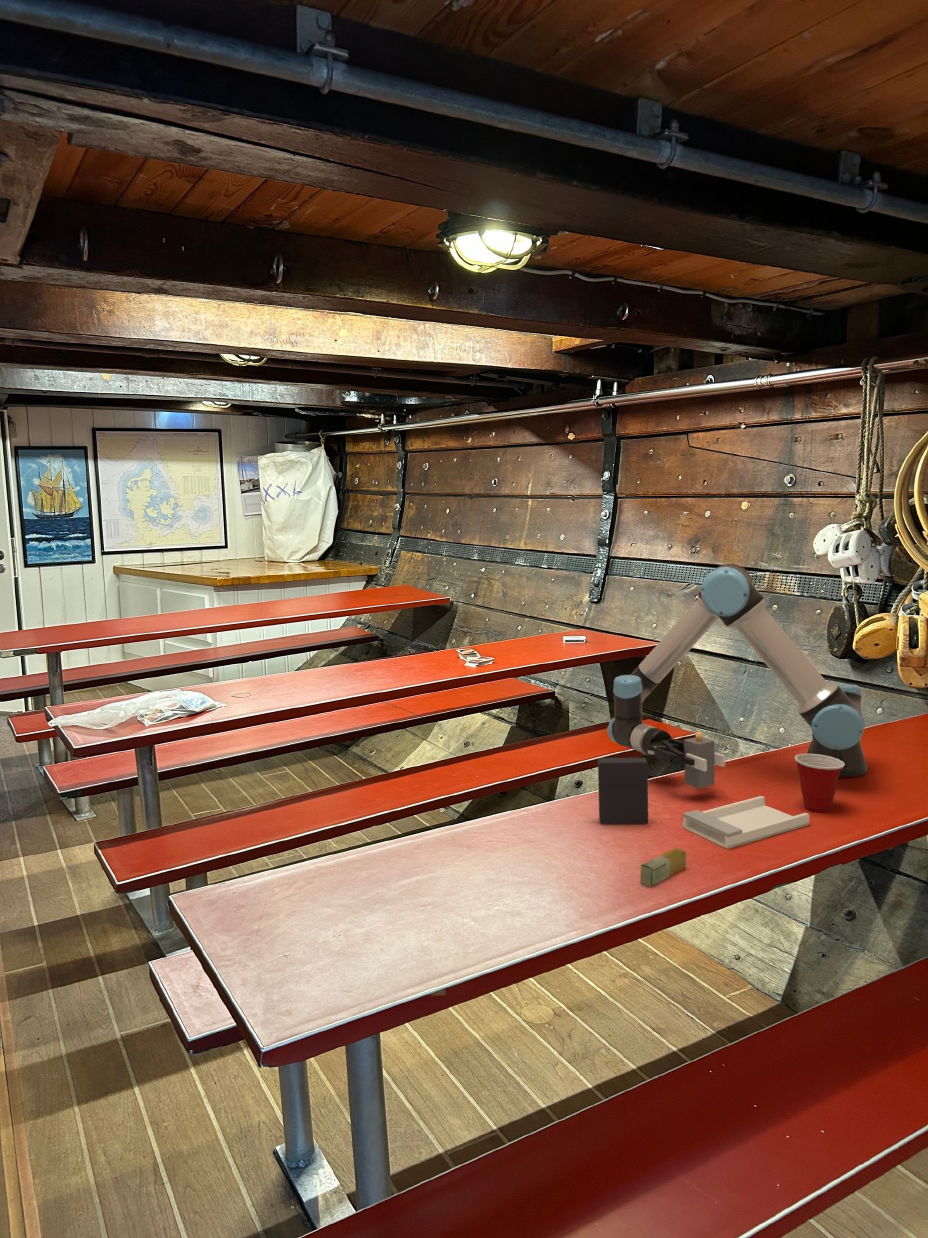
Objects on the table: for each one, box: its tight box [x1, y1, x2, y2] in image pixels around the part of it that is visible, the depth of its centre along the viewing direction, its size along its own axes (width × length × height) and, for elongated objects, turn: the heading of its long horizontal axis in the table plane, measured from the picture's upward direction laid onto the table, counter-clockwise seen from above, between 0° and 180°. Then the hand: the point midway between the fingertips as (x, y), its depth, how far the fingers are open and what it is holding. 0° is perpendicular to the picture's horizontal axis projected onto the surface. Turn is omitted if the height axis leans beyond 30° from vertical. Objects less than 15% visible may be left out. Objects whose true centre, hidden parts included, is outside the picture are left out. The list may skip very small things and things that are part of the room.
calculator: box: [597, 757, 649, 825], centre depth 197 cm, size 11×4×15 cm, turn 84°
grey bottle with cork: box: [683, 731, 716, 789], centre depth 209 cm, size 5×5×13 cm
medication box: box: [640, 847, 687, 888], centre depth 169 cm, size 12×3×4 cm, turn 132°
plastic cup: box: [794, 753, 845, 813], centre depth 200 cm, size 11×11×12 cm
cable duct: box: [682, 795, 810, 850], centre depth 192 cm, size 24×14×3 cm, turn 117°
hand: (714, 763), depth 204 cm, fingers closed on grey bottle with cork, 5 cm apart
